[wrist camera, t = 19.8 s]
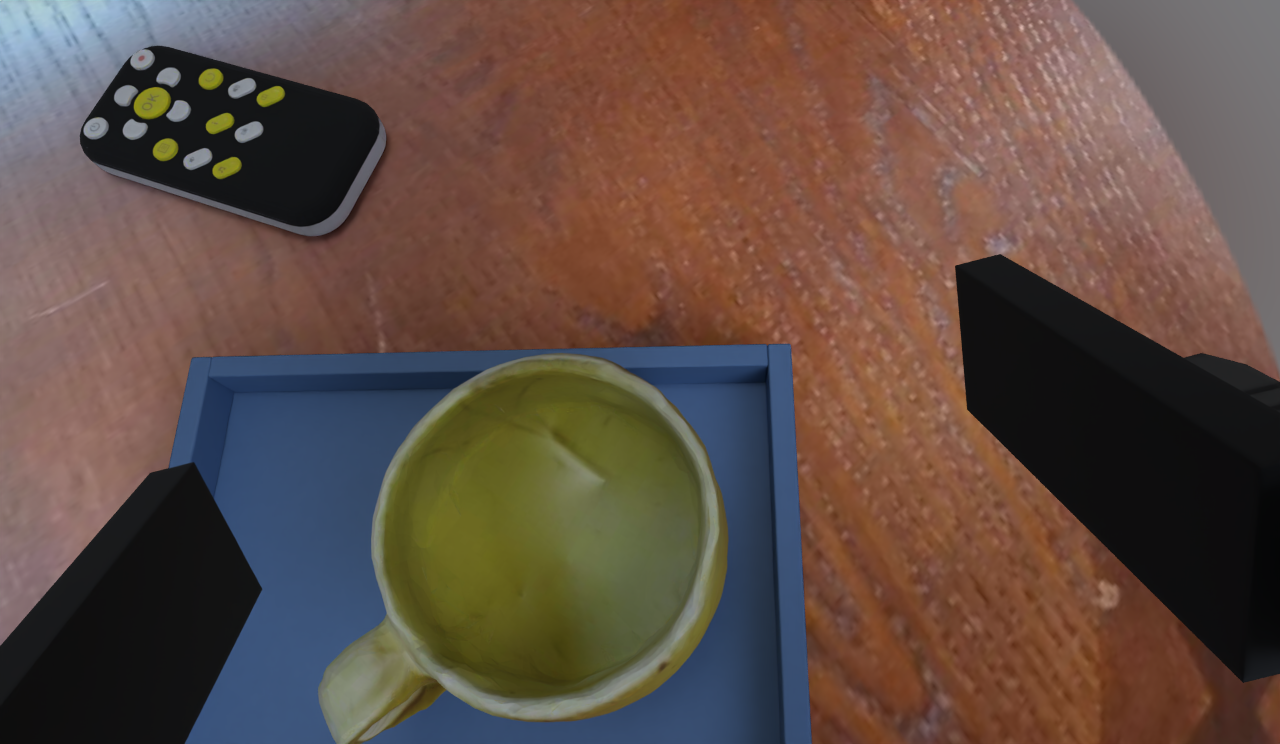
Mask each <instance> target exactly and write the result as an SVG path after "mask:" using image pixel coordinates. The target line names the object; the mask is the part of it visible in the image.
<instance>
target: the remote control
mask: <svg viewBox="0 0 1280 744" xmlns="http://www.w3.org/2000/svg"><path fill="white" fill-rule="evenodd" d="M80 144H81V146H82V149H83V151H84V153H85V154H86V155H87V156H88V158H89V159H90V160H91V161H93V162H94V163H95V164H96V165H97V166H99V167H100V168H101V169H103V170H104V171H106V172H108V173H110V174H113V175H116V176H119V177H123V178H126V179H129V180H132V181H135V182H138V183H141V184H144V185H147V186H151V187H154V188H157V189H160V190H163V191H166V192H169V193H172V194H176V195H179V196H182V197H185V198H188V199H191V200H194V201H197V202H201V203H204V204H207V205H210V206H213V207H216V208H219V209H222V210H226V211H229V212H232V213H235V214H238V215H241V216H244V217H247V218H250V219H254V220H257V221H260V222H263V223H266V224H269V225H272V226H275V227H279V228H282V229H285V230H288V231H291V232H294V233H297V234H301V235H306V236H320V235H323V234H326V233H329V232H331V231H333V230H334V229H336V228H338V227H339V226H340V225H341V224H342V223H343V222H344V221H345V219H346V218H347V217H348V215H349V214H350V212H351V210H352V208H353V206H354V205H355V203H356V201H357V199H358V197H359V195H360V194H361V192H362V190H363V188H364V186H365V185H366V183H367V181H368V179H369V177H370V175H371V174H372V172H373V170H374V168H375V166H376V164H377V163H378V161H379V159H380V157H381V155H382V154H383V151H384V148H385V146H386V132H385V128H384V126H383V124H382V122H381V121H380V119H379V117H378V116H377V114H376V113H375V111H374V110H373V109H372V108H371V107H370V106H369V105H368V104H366V103H365V102H362V101H360V100H358V99H355V98H351V97H347V96H344V95H340V94H337V93H333V92H329V91H326V90H322V89H319V88H315V87H311V86H308V85H304V84H300V83H297V82H293V81H290V80H286V79H282V78H279V77H275V76H271V75H268V74H264V73H261V72H257V71H253V70H250V69H246V68H243V67H239V66H235V65H232V64H228V63H224V62H221V61H217V60H214V59H210V58H206V57H203V56H199V55H196V54H192V53H188V52H185V51H181V50H177V49H174V48H170V47H164V46H151V47H148V48H145V49H142V50H139V51H137V52H136V53H135V54H134V55H132V56H131V57H130V58H129V59H128V60H127V61H126V62H125V64H124V65H123V66H122V68H121V69H120V71H119V72H118V74H117V75H116V77H115V78H114V80H113V81H112V82H111V84H110V85H109V87H108V88H107V90H106V91H105V93H104V94H103V96H102V97H101V99H100V100H99V101H98V103H97V104H96V106H95V107H94V109H93V110H92V112H91V113H90V115H89V116H88V117H87V119H86V120H85V122H84V124H83V126H82V129H81V133H80Z"/></svg>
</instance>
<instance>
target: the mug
mask: <svg viewBox="0 0 1280 744" xmlns="http://www.w3.org/2000/svg"><path fill="white" fill-rule="evenodd" d="M371 553H372V561H373V565H374V570H375V575H376V579H377V582H378V585H379V588H380V591H381V594H382V598H383V601H384V605H385V608H386V612H387V614H386V616H385V619H384V620H383V621H382V622H381V623H380V624H379V625H378V626H376V627H375V628H373V629H372V630H370V631H369V632H367V633H366V634H364V635H363V636H361V637H360V638H358V639H357V640H355V641H354V642H353V643H351V644H350V645H349V646H348V647H346V648H345V649H344V650H343V651H342V652H341V653H340V654H339V655H338V656H337V657H336V658H335V659H334V660H333V661H332V662H331V663H330V665H329V666H328V667H327V668H326V670H325V672H324V675H323V679H322V681H321V683H320V685H319V687H318V697H319V704H320V706H321V709H322V712H323V715H324V718H325V720H326V723H327V725H328V728H329V730H330V732H331V735H332V737H333V739H334V740H335V742H336V744H361V743H363V742H365V741H369V740H371V739H372V738H374V737H375V736H377V735H378V734H380V733H381V732H383V731H384V730H387V729H390V728H393V727H395V726H396V725H398V724H399V723H401V722H402V721H404V720H406V719H407V718H409V717H411V716H412V715H414V714H416V713H417V712H419V711H421V710H425V709H427V708H428V707H429V706H431V705H432V704H433V703H434V702H435V700H436V699H437V698H438V697H439V696H440V695H441V694H442V693H443V692H445V691H446V690H447V691H449V692H450V693H451V694H453V695H454V696H456V697H457V698H459V699H461V700H462V701H464V702H465V703H467V704H469V705H470V706H472V707H473V708H475V709H478V710H480V711H483V712H485V713H487V714H490V715H492V716H497V717H502V718H506V719H511V720H518V721H525V722H568V721H578V720H583V719H589V718H593V717H597V716H601V715H605V714H608V713H611V712H614V711H617V710H619V709H621V708H623V707H625V706H627V705H629V704H631V703H633V702H635V701H638V700H639V699H641V698H643V697H645V696H647V695H648V694H650V693H652V692H653V691H654V690H656V689H657V688H658V687H660V686H661V685H662V684H663V683H664V682H666V681H667V680H668V679H669V678H670V677H671V676H672V675H673V674H675V673H676V672H677V671H678V669H679V668H680V667H681V666H682V665H683V664H684V662H685V661H686V660H687V659H688V658H689V657H690V655H691V654H692V653H693V651H694V650H695V648H696V647H697V646H698V644H699V643H700V641H701V639H702V637H703V636H704V634H705V632H706V630H707V628H708V626H709V624H710V622H711V620H712V618H713V616H714V614H715V611H716V609H717V607H718V604H719V602H720V599H721V596H722V592H723V588H724V583H725V578H726V573H727V554H728V525H727V519H726V513H725V508H724V501H723V497H722V493H721V490H720V487H719V485H718V483H717V481H716V478H715V475H714V471H713V468H712V464H711V461H710V458H709V455H708V452H707V450H706V447H705V445H704V444H703V442H702V440H701V439H700V437H699V436H698V434H697V433H696V431H695V430H694V429H693V427H692V426H691V425H690V424H689V422H688V421H687V420H686V419H685V418H684V416H683V415H682V414H681V412H680V411H679V409H678V408H677V407H676V406H675V405H674V404H672V403H671V402H670V401H669V400H668V399H667V398H666V397H665V396H664V395H663V393H662V392H661V391H660V390H659V389H658V388H656V387H655V386H653V385H652V384H650V383H648V382H647V381H645V380H644V379H642V378H640V377H639V376H637V375H635V374H633V373H631V372H629V371H628V370H626V369H625V368H623V367H622V366H621V365H619V364H616V363H614V362H612V361H610V360H607V359H604V358H601V357H594V356H588V355H581V354H569V353H552V354H542V355H536V356H529V357H524V358H520V359H517V360H513V361H510V362H506V363H503V364H499V365H497V366H494V367H492V368H489V369H487V370H485V371H483V372H482V373H480V374H478V375H476V376H475V377H473V378H471V379H469V380H468V381H466V382H464V383H463V384H461V385H459V386H457V387H456V388H454V389H453V390H452V391H451V392H449V393H448V394H447V395H446V396H445V397H444V398H443V399H442V400H441V401H440V402H438V403H437V404H436V405H435V406H434V407H433V408H432V409H431V410H430V411H429V412H428V413H427V414H426V415H425V416H424V417H423V418H422V419H421V420H420V421H419V422H418V423H417V424H416V425H415V426H414V427H413V428H412V430H411V431H410V433H409V434H408V436H407V437H406V439H405V440H404V442H403V443H402V444H401V446H400V447H399V448H398V450H397V452H396V453H395V455H394V457H393V459H392V461H391V463H390V465H389V467H388V469H387V471H386V473H385V476H384V479H383V482H382V485H381V489H380V492H379V496H378V500H377V503H376V507H375V511H374V515H373V522H372V535H371Z"/></svg>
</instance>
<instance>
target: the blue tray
mask: <svg viewBox="0 0 1280 744" xmlns="http://www.w3.org/2000/svg"><path fill="white" fill-rule="evenodd" d="M552 353H569V354H581V355H588V356H594V357H601V358H604V359H607V360H610V361H612V362H614V363H616V364H619V365H621V366H622V367H623V368H625V369H626V370H628V371H629V372H631V373H633V374H635V375H637V376H639V377H640V378H642V379H644V380H645V381H647V382H648V383H650V384H652V385H653V386H655V387H656V388H658V389H659V390H660V391H661V392H662V393H663V395H664V396H665V397H666V398H667V399H668V400H669V401H670V402H671V403H672V404H674V405H675V406H676V407H677V408H678V409H679V411H680V412H681V414H682V415H683V416H684V418H685V419H686V420H687V421H688V422H689V424H690V425H691V426H692V427H693V429H694V430H695V431H696V433H697V434H698V436H699V437H700V439H701V440H702V442H703V444H704V445H705V447H706V450H707V452H708V455H709V458H710V461H711V464H712V468H713V471H714V475H715V478H716V481H717V483H718V485H719V487H720V490H721V493H722V497H723V501H724V508H725V513H726V519H727V525H728V554H727V573H726V578H725V583H724V588H723V592H722V596H721V599H720V602H719V604H718V607H717V609H716V611H715V614H714V616H713V618H712V620H711V622H710V624H709V626H708V628H707V630H706V632H705V634H704V636H703V637H702V639H701V641H700V643H699V644H698V646H697V647H696V648H695V650H694V651H693V653H692V654H691V655H690V657H689V658H688V659H687V660H686V661H685V662H684V664H683V665H682V666H681V667H680V668H679V669H678V671H677V672H676V673H675V674H673V675H672V676H671V677H670V678H669V679H668V680H667V681H666V682H664V683H663V684H662V685H661V686H660V687H658V688H657V689H656V690H654V691H653V692H652V693H650V694H648V695H647V696H645V697H643V698H641V699H639V700H638V701H635V702H633V703H631V704H629V705H627V706H625V707H623V708H621V709H619V710H617V711H614V712H611V713H608V714H605V715H601V716H597V717H593V718H589V719H583V720H578V721H568V722H525V721H518V720H511V719H506V718H502V717H497V716H492V715H490V714H487V713H485V712H483V711H480V710H478V709H475V708H473V707H472V706H470V705H469V704H467V703H465V702H464V701H462V700H461V699H459V698H457V697H456V696H454V695H453V694H451V693H450V692H449V691H447V690H446V691H445V692H443V693H442V694H441V695H440V696H439V697H438V698H437V699H436V700H435V702H434V703H433V704H432V705H431V706H429V707H428V708H427V709H425V710H421V711H419V712H417V713H416V714H414V715H412V716H411V717H409V718H407V719H406V720H404V721H402V722H401V723H399V724H398V725H396V726H395V727H393V728H390V729H387V730H384V731H383V732H381V733H380V734H378V735H377V736H375V737H374V738H372V739H371V740H369V741H365V742H363V743H361V744H812V739H811V720H810V700H809V681H808V662H807V643H806V624H805V605H804V586H803V567H802V547H801V528H800V509H799V490H798V471H797V452H796V433H795V413H794V394H793V375H792V356H791V345H790V344H769V345H768V346H767V345H766V344H749V345H706V346H662V347H619V348H575V349H532V350H489V351H445V352H402V353H358V354H315V355H271V356H228V357H213V358H212V357H193V358H192V359H191V364H190V369H189V373H188V378H187V383H186V388H185V392H184V397H183V402H182V406H181V411H180V416H179V421H178V425H177V430H176V435H175V439H174V444H173V449H172V454H171V458H170V463H169V468H172V467H176V466H179V465H183V464H187V463H191V462H194V463H195V465H196V466H197V468H198V470H199V472H200V474H201V476H202V478H203V480H204V481H205V483H206V485H207V487H208V489H209V491H210V493H211V494H212V496H213V498H214V500H215V502H216V504H217V506H218V507H219V509H220V511H221V513H222V515H223V517H224V519H225V520H226V522H227V524H228V526H229V528H230V530H231V532H232V533H233V535H234V537H235V539H236V541H237V543H238V545H239V546H240V548H241V550H242V552H243V554H244V556H245V558H246V559H247V561H248V563H249V565H250V567H251V569H252V571H253V573H254V574H255V576H256V578H257V580H258V582H259V584H260V586H261V587H262V591H261V593H260V595H259V597H258V599H257V601H256V603H255V605H254V607H253V609H252V611H251V613H250V615H249V617H248V619H247V621H246V623H245V625H244V627H243V629H242V631H241V633H240V635H239V637H238V639H237V641H236V643H235V645H234V647H233V649H232V651H231V653H230V655H229V657H228V659H227V661H226V663H225V665H224V667H223V669H222V671H221V673H220V675H219V677H218V679H217V681H216V683H215V685H214V687H213V689H212V691H211V693H210V694H209V696H208V698H207V700H206V702H205V704H204V706H203V708H202V710H201V712H200V714H199V716H198V718H197V720H196V722H195V724H194V726H193V728H192V730H191V732H190V734H189V736H188V738H187V740H186V742H185V744H336V742H335V740H334V739H333V737H332V735H331V732H330V730H329V728H328V725H327V723H326V720H325V718H324V715H323V712H322V709H321V706H320V704H319V697H318V687H319V685H320V683H321V681H322V679H323V675H324V672H325V670H326V668H327V667H328V666H329V665H330V663H331V662H332V661H333V660H334V659H335V658H336V657H337V656H338V655H339V654H340V653H341V652H342V651H343V650H344V649H345V648H346V647H348V646H349V645H350V644H351V643H353V642H354V641H355V640H357V639H358V638H360V637H361V636H363V635H364V634H366V633H367V632H369V631H370V630H372V629H373V628H375V627H376V626H378V625H379V624H380V623H381V622H382V621H383V620H384V619H385V616H386V614H387V612H386V608H385V605H384V601H383V598H382V594H381V591H380V588H379V585H378V582H377V579H376V575H375V570H374V565H373V561H372V553H371V535H372V522H373V515H374V511H375V507H376V503H377V500H378V496H379V492H380V489H381V485H382V482H383V479H384V476H385V473H386V471H387V469H388V467H389V465H390V463H391V461H392V459H393V457H394V455H395V453H396V452H397V450H398V448H399V447H400V446H401V444H402V443H403V442H404V440H405V439H406V437H407V436H408V434H409V433H410V431H411V430H412V428H413V427H414V426H415V425H416V424H417V423H418V422H419V421H420V420H421V419H422V418H423V417H424V416H425V415H426V414H427V413H428V412H429V411H430V410H431V409H432V408H433V407H434V406H435V405H436V404H437V403H438V402H440V401H441V400H442V399H443V398H444V397H445V396H446V395H447V394H448V393H449V392H451V391H452V390H453V389H454V388H456V387H457V386H459V385H461V384H463V383H464V382H466V381H468V380H469V379H471V378H473V377H475V376H476V375H478V374H480V373H482V372H483V371H485V370H487V369H489V368H492V367H494V366H497V365H499V364H503V363H506V362H510V361H513V360H517V359H520V358H524V357H529V356H536V355H542V354H552Z"/></svg>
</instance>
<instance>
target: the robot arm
mask: <svg viewBox="0 0 1280 744" xmlns="http://www.w3.org/2000/svg"><path fill="white" fill-rule="evenodd" d="M955 270H956V282H957V294H958V306H959V317H960V329H961V341H962V353H963V365H964V377H965V389H966V401H967V410H968V411H969V412H970V413H971V414H972V415H973V416H974V417H975V418H976V419H977V420H978V421H979V422H980V423H981V424H982V425H983V426H984V427H986V428H987V429H988V430H989V431H990V432H991V433H992V434H993V435H994V436H995V437H996V438H997V439H998V440H999V441H1000V442H1001V443H1002V444H1003V445H1004V446H1005V447H1006V448H1007V449H1008V450H1009V451H1010V452H1011V453H1012V454H1013V455H1014V456H1015V457H1016V458H1017V459H1018V460H1019V461H1020V462H1021V463H1022V464H1023V465H1024V466H1025V467H1026V468H1027V469H1028V470H1029V471H1030V472H1031V473H1032V474H1033V475H1034V476H1035V477H1036V478H1037V479H1038V480H1039V481H1040V482H1041V483H1042V484H1043V485H1044V486H1045V487H1046V488H1047V489H1048V490H1049V491H1050V492H1051V493H1052V494H1053V495H1054V496H1055V497H1056V498H1057V499H1058V500H1059V501H1060V502H1061V503H1062V504H1063V505H1064V506H1065V507H1066V508H1067V509H1068V510H1069V511H1070V512H1071V513H1072V514H1073V515H1074V516H1075V517H1076V518H1077V519H1078V520H1079V521H1080V522H1081V523H1082V524H1083V525H1084V526H1085V527H1086V528H1088V529H1089V530H1090V531H1091V532H1092V533H1093V534H1094V535H1095V536H1096V537H1097V538H1098V539H1099V540H1100V541H1101V542H1102V543H1103V544H1104V545H1105V546H1106V547H1107V548H1108V549H1109V550H1110V551H1111V552H1112V553H1113V554H1114V555H1115V556H1116V557H1117V558H1118V559H1119V560H1120V561H1121V562H1122V563H1123V564H1124V565H1125V566H1126V567H1127V568H1128V569H1129V570H1130V571H1131V572H1132V573H1133V574H1134V575H1135V576H1136V577H1137V578H1138V579H1139V580H1140V581H1141V582H1142V583H1143V584H1144V585H1145V586H1146V587H1147V588H1148V589H1149V590H1150V591H1151V592H1152V593H1153V594H1154V595H1155V596H1156V597H1157V598H1158V599H1159V600H1160V601H1161V602H1162V603H1163V604H1164V605H1165V606H1166V607H1167V608H1168V609H1169V610H1170V611H1171V612H1172V613H1173V614H1174V615H1175V616H1176V617H1177V618H1178V619H1179V620H1180V621H1181V622H1182V623H1183V624H1184V625H1185V626H1186V627H1187V628H1188V629H1189V630H1191V631H1192V632H1193V633H1194V634H1195V635H1196V636H1197V637H1198V638H1199V639H1200V640H1201V641H1202V642H1203V643H1204V644H1205V645H1206V646H1207V647H1208V648H1209V649H1210V650H1211V651H1212V652H1213V653H1214V654H1215V655H1216V656H1217V657H1218V658H1219V659H1220V660H1221V661H1222V662H1223V663H1224V664H1225V665H1226V666H1227V667H1228V668H1229V669H1230V670H1231V671H1232V672H1233V673H1234V674H1235V675H1236V676H1237V677H1238V678H1239V679H1240V680H1241V681H1242V682H1243V683H1244V682H1248V681H1252V680H1256V679H1260V678H1264V677H1268V676H1272V675H1276V674H1280V382H1279V381H1277V380H1275V379H1273V378H1271V377H1269V376H1267V375H1265V374H1263V373H1262V372H1260V371H1258V370H1256V369H1254V368H1252V367H1250V366H1248V365H1246V364H1242V363H1238V362H1235V361H1231V360H1227V359H1223V358H1219V357H1215V356H1211V355H1207V354H1203V353H1200V354H1196V355H1193V356H1189V357H1185V358H1183V357H1181V356H1179V355H1177V354H1176V353H1174V352H1172V351H1170V350H1169V349H1167V348H1165V347H1163V346H1161V345H1160V344H1158V343H1156V342H1154V341H1153V340H1151V339H1149V338H1147V337H1146V336H1144V335H1142V334H1140V333H1139V332H1137V331H1135V330H1133V329H1131V328H1130V327H1128V326H1126V325H1124V324H1123V323H1121V322H1119V321H1117V320H1116V319H1114V318H1112V317H1110V316H1109V315H1107V314H1105V313H1103V312H1101V311H1100V310H1098V309H1096V308H1094V307H1093V306H1091V305H1089V304H1087V303H1086V302H1084V301H1082V300H1080V299H1078V298H1077V297H1075V296H1073V295H1071V294H1070V293H1068V292H1066V291H1064V290H1063V289H1061V288H1059V287H1057V286H1056V285H1054V284H1052V283H1050V282H1048V281H1047V280H1045V279H1043V278H1041V277H1040V276H1038V275H1036V274H1034V273H1033V272H1031V271H1029V270H1027V269H1026V268H1024V267H1022V266H1020V265H1018V264H1017V263H1015V262H1013V261H1011V260H1010V259H1008V258H1006V257H1004V256H1003V255H1001V254H999V255H995V256H991V257H987V258H983V259H979V260H976V261H972V262H968V263H964V264H960V265H956V266H955ZM261 591H262V587H261V586H260V584H259V582H258V580H257V578H256V576H255V574H254V573H253V571H252V569H251V567H250V565H249V563H248V561H247V559H246V558H245V556H244V554H243V552H242V550H241V548H240V546H239V545H238V543H237V541H236V539H235V537H234V535H233V533H232V532H231V530H230V528H229V526H228V524H227V522H226V520H225V519H224V517H223V515H222V513H221V511H220V509H219V507H218V506H217V504H216V502H215V500H214V498H213V496H212V494H211V493H210V491H209V489H208V487H207V485H206V483H205V481H204V480H203V478H202V476H201V474H200V472H199V470H198V468H197V466H196V465H195V463H194V462H191V463H187V464H183V465H179V466H176V467H172V468H168V469H164V470H160V471H156V472H152V473H150V474H149V475H148V476H147V477H146V478H145V480H144V481H143V482H142V483H141V484H140V485H139V486H138V488H137V489H136V490H135V491H134V492H133V493H132V495H131V496H130V497H129V498H128V499H127V500H126V502H125V503H124V504H123V505H122V506H121V507H120V508H119V510H118V511H117V512H116V513H115V514H114V515H113V517H112V518H111V519H110V520H109V521H108V522H107V523H106V525H105V526H104V527H103V528H102V529H101V530H100V532H99V533H98V534H97V535H96V536H95V537H94V538H93V540H92V541H91V542H90V543H89V544H88V545H87V547H86V548H85V549H84V550H83V551H82V552H81V553H80V555H79V556H78V557H77V558H76V559H75V560H74V562H73V563H72V564H71V565H70V566H69V567H68V568H67V570H66V571H65V572H64V573H63V574H62V575H61V577H60V578H59V579H58V580H57V581H56V582H55V583H54V585H53V586H52V587H51V588H50V589H49V590H48V592H47V593H46V594H45V595H44V596H43V597H42V599H41V600H40V601H39V602H38V603H37V604H36V605H35V607H34V608H33V609H32V610H31V611H30V612H29V614H28V615H27V616H26V617H25V618H24V619H23V620H22V622H21V623H20V624H19V625H18V626H17V627H16V629H15V630H14V631H13V632H12V633H11V634H10V635H9V637H8V638H7V639H6V640H5V641H4V642H3V644H2V645H1V646H0V744H185V742H186V740H187V738H188V736H189V734H190V732H191V730H192V728H193V726H194V724H195V722H196V720H197V718H198V716H199V714H200V712H201V710H202V708H203V706H204V704H205V702H206V700H207V698H208V696H209V694H210V693H211V691H212V689H213V687H214V685H215V683H216V681H217V679H218V677H219V675H220V673H221V671H222V669H223V667H224V665H225V663H226V661H227V659H228V657H229V655H230V653H231V651H232V649H233V647H234V645H235V643H236V641H237V639H238V637H239V635H240V633H241V631H242V629H243V627H244V625H245V623H246V621H247V619H248V617H249V615H250V613H251V611H252V609H253V607H254V605H255V603H256V601H257V599H258V597H259V595H260V593H261Z"/></svg>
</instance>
